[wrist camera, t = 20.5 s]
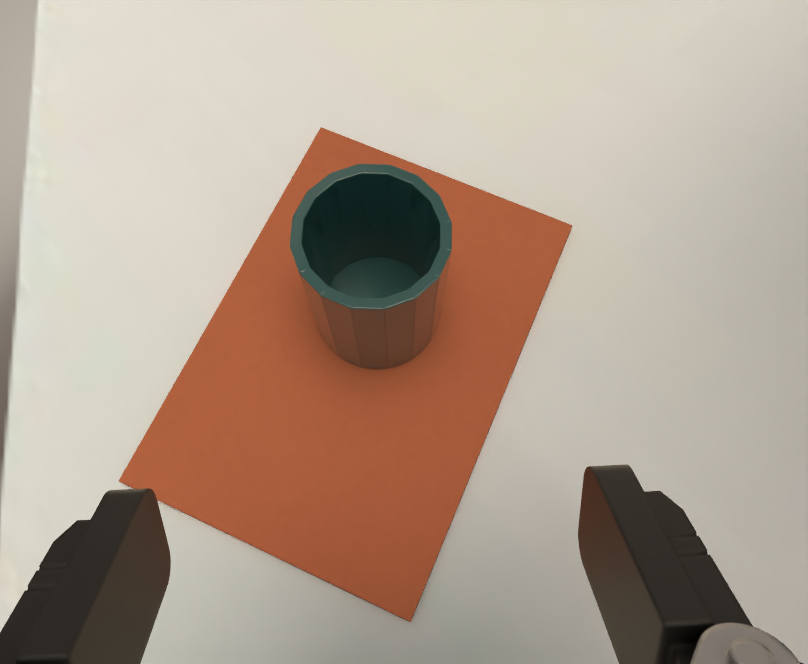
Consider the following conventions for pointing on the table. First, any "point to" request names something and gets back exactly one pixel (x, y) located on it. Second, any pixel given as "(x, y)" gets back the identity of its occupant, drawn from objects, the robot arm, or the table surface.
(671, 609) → the robot arm
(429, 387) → the mat
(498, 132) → the table surface
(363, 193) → the cup
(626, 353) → the table surface
